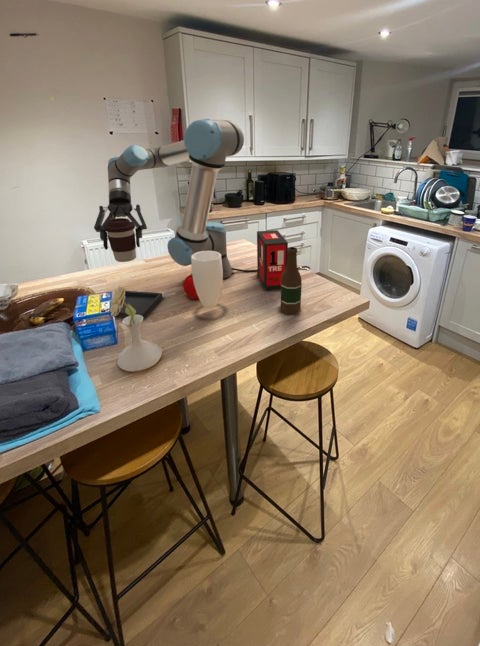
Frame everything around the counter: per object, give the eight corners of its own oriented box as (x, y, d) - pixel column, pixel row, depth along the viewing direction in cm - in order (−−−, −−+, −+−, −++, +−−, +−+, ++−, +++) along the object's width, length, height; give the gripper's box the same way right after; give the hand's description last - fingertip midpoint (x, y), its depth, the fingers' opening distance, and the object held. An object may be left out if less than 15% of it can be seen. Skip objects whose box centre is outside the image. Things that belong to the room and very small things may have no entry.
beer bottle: (303, 306, 125) (306, 246, 115) (296, 317, 118) (299, 253, 108) (284, 302, 127) (285, 243, 117) (276, 312, 120) (277, 250, 110)
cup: (199, 322, 112) (193, 263, 104) (192, 308, 121) (186, 252, 112) (229, 315, 117) (226, 258, 108) (221, 302, 125) (217, 248, 117)
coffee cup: (145, 255, 131) (139, 217, 125) (130, 264, 122) (123, 225, 116) (121, 253, 132) (114, 216, 126) (105, 262, 123) (96, 223, 117)
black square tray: (163, 298, 126) (162, 292, 125) (144, 319, 113) (143, 313, 112) (124, 295, 127) (123, 290, 126) (100, 316, 113) (99, 310, 112)
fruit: (185, 291, 132) (182, 267, 128) (208, 289, 134) (206, 266, 130) (182, 302, 124) (179, 278, 120) (207, 300, 126) (205, 276, 122)
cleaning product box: (286, 288, 138) (287, 242, 130) (265, 290, 135) (265, 244, 127) (276, 272, 152) (277, 230, 144) (257, 274, 150) (256, 231, 141)
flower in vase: (123, 351, 97) (106, 273, 87) (165, 346, 100) (153, 270, 90) (111, 382, 86) (90, 296, 76) (158, 376, 88) (144, 293, 78)
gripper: (152, 199, 136) (156, 248, 129) (89, 201, 129) (90, 253, 122) (150, 188, 129) (154, 239, 122) (83, 189, 122) (83, 244, 115)
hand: (122, 246), depth 122 cm, fingers closed on coffee cup, 10 cm apart
